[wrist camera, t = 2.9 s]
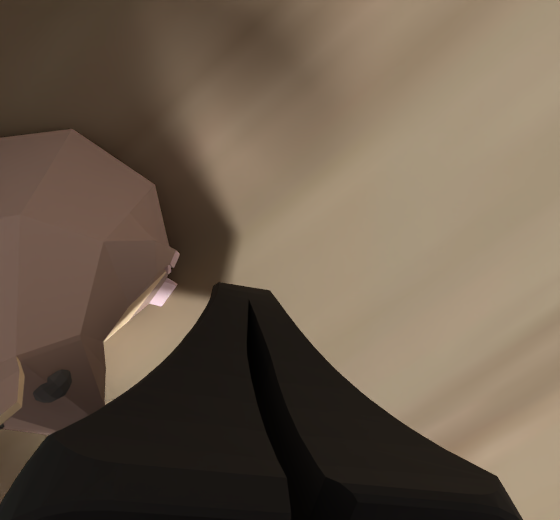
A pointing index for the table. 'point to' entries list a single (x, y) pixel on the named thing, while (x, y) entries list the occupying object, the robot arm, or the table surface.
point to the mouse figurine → (70, 272)
